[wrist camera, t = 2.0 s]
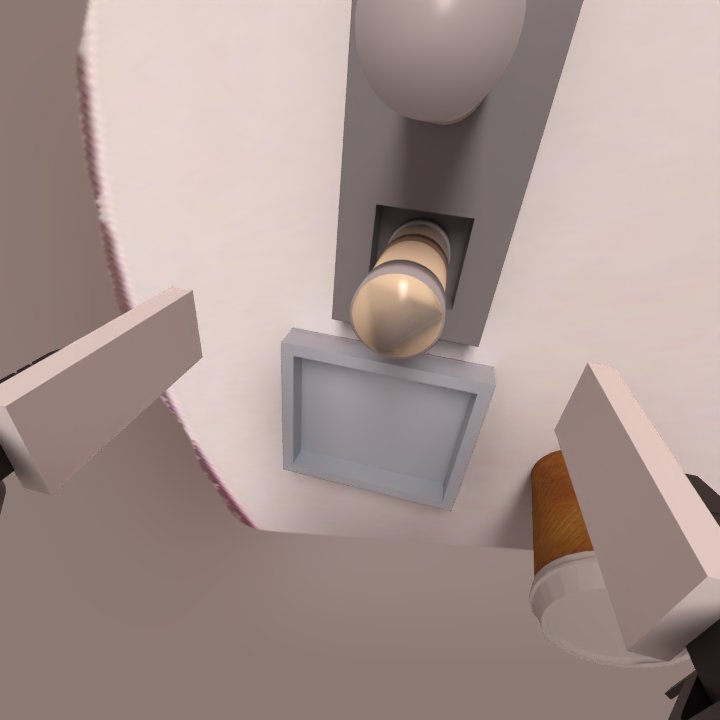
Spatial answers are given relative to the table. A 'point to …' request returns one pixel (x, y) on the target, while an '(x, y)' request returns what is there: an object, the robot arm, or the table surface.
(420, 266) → the fuse
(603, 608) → the disposable coffee cup
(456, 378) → the parts tray
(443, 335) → the grey slotted block
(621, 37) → the table surface
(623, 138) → the table surface
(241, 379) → the table surface
